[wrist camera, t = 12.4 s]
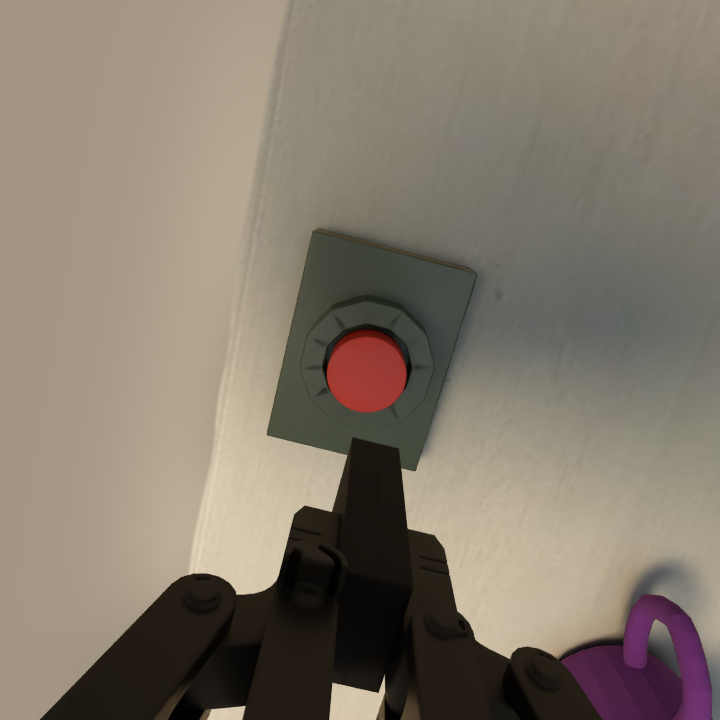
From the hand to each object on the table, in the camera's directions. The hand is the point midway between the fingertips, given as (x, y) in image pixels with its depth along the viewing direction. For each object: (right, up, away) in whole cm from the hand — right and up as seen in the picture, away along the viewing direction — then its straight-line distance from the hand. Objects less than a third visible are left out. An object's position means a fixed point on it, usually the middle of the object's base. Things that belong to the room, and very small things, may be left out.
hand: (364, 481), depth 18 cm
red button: (0, +4, +12) cm, 13 cm away
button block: (0, +4, +15) cm, 16 cm away
